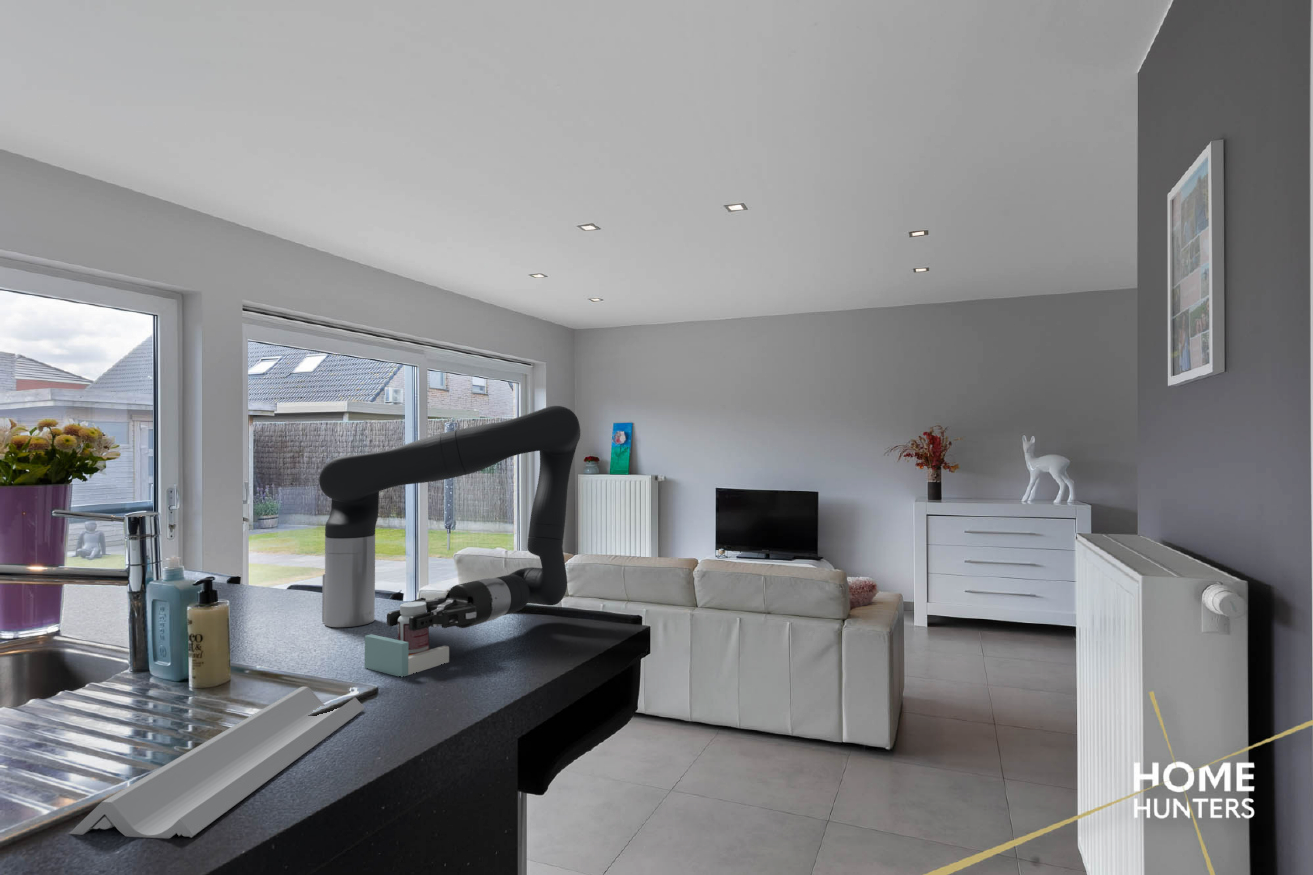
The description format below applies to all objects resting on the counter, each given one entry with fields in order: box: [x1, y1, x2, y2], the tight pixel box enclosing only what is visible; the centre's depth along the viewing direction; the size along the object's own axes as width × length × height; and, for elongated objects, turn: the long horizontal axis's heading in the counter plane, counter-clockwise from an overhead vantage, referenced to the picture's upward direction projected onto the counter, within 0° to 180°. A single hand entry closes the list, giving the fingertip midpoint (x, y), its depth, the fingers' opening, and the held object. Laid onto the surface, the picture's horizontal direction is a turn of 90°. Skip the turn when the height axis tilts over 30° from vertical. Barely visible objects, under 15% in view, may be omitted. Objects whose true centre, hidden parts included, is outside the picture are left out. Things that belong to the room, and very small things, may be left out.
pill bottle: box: [397, 601, 430, 656], centre depth 116 cm, size 5×5×8 cm
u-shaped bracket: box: [364, 634, 450, 678], centre depth 114 cm, size 9×9×5 cm
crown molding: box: [68, 686, 365, 839], centre depth 79 cm, size 31×12×4 cm, turn 176°
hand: (399, 621), depth 113 cm, fingers closed on pill bottle, 4 cm apart
